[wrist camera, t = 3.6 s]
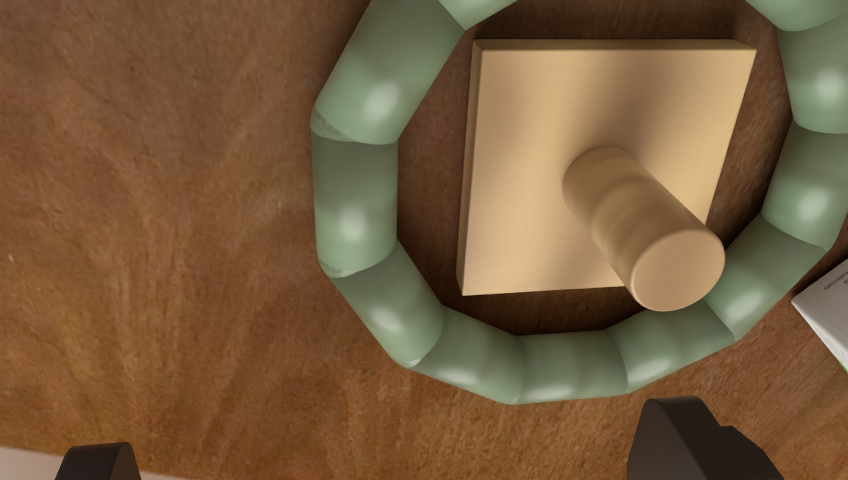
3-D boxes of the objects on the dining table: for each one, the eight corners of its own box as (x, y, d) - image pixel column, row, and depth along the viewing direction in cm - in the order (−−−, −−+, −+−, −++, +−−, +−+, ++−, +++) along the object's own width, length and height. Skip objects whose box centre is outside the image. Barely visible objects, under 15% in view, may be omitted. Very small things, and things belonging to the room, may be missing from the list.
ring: (325, 386, 24) (326, 436, 22) (294, -164, 15) (292, -165, 13) (750, 352, 26) (787, 394, 24) (937, -133, 18) (1019, -131, 16)
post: (454, 276, 22) (500, 408, 17) (472, 38, 18) (539, 115, 13) (671, 264, 23) (777, 383, 18) (734, 38, 19) (894, 109, 14)
